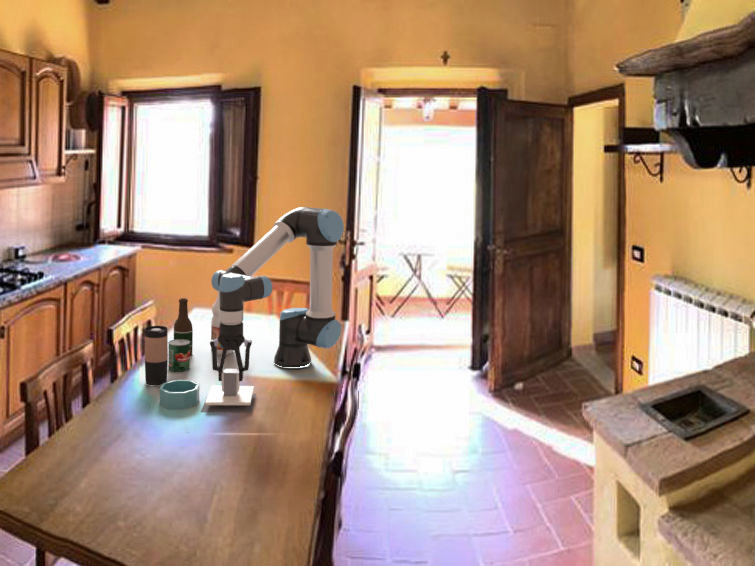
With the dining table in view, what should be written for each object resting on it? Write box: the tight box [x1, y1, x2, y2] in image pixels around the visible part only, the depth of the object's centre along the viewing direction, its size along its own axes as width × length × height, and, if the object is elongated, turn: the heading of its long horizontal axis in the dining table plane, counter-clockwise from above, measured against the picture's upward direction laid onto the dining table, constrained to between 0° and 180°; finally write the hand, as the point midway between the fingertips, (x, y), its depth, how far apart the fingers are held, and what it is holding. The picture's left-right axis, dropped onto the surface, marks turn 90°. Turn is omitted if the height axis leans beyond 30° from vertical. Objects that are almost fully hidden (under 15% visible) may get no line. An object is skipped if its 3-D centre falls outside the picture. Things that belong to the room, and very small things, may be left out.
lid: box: [204, 368, 255, 405], centre depth 186 cm, size 14×14×9 cm
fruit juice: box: [210, 291, 234, 356], centre depth 238 cm, size 9×9×28 cm
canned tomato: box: [167, 339, 191, 374], centre depth 215 cm, size 8×8×11 cm
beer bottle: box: [173, 297, 194, 358], centre depth 230 cm, size 8×8×24 cm
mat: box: [200, 393, 257, 414], centre depth 187 cm, size 16×16×1 cm
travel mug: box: [144, 325, 169, 387], centre depth 200 cm, size 8×8×20 cm
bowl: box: [159, 379, 200, 410], centre depth 184 cm, size 12×12×6 cm
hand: (230, 389), depth 187 cm, fingers closed on lid, 4 cm apart
